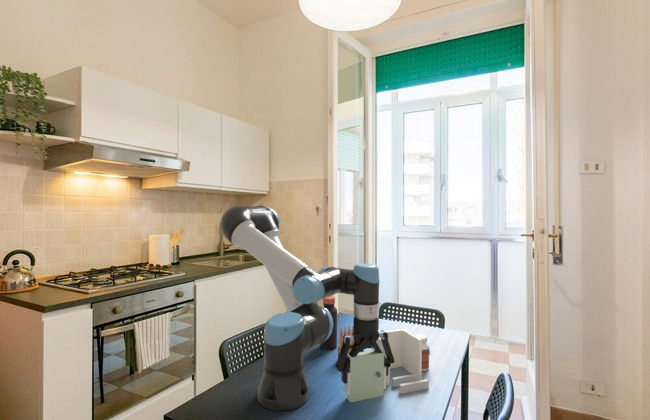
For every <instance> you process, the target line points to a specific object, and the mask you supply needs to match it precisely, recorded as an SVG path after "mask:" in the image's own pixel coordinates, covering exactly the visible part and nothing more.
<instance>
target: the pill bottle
mask: <svg viewBox="0 0 650 420" xmlns="http://www.w3.org/2000/svg"><path fill="white" fill-rule="evenodd" d="M414 335H415V336H416V337H418V338H420V339H421V340H422V372H425V371H428V370H429V369H430V352H429V350H430V345H429V343H428V337H427V335H424V334H420V333H419V334H418V333H417V334H414Z"/></svg>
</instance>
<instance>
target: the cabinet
mask: <svg viewBox="0 0 650 420" xmlns="http://www.w3.org/2000/svg"><path fill="white" fill-rule="evenodd" d="M384 331H385V332H386V333H388V342H389V345H390V348H391V351H392V354H393V357H394V363H391V366H390V367H388V376H386V386H390V384H391V386H392V387H393V388H396V387H399V388H398V393H399V394H401V395H404V394H409V393H413V392H419V391H425V390H428V389H430V388H429V387H430V383H429V382H430V381H429V380H428V379H427V378H426V379H422V378H423V377H422V375H423V374H422V372H423V371H422V340H421V339H420V338H418V337H416V336H415V335H416V334H413V333H411V332H409V331H408V330H406V329H404V328H403V329H402V328H401V329H394V330H384ZM376 342H377V344H378V346H379V348H380V349H381V351H383V352H384V356H385V357H386V354H385V351H384V348H383V345H382V341H381V338H380V337H379V338H378V340H377V341H376ZM370 349H371V350H370V351H373V350H374V349H373V347H372V348H370ZM386 358H387V357H386ZM397 368H404V369H405V370H406V371H407V372H409V373H410V374H406V375H401V376H395V377H391V369H397ZM390 382H391V383H390Z"/></svg>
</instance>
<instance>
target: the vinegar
mask: <svg viewBox="0 0 650 420" xmlns="http://www.w3.org/2000/svg"><path fill="white" fill-rule="evenodd" d="M335 304H336V296H334V295H332V296H329V297H326V298H324V299H322V305H323V307H324V308H326V309H327V310H328V311H329V312H330V314H331V316H332V319H333V330H332V333H331V335H330V337H329V338H328V339H327V340H325V341H324V342H323V343H322V344H320V345H319V347H320V348H321V349H323V350H327V351H328V350H334V349H336V348H337V346H338V308H336V306H335Z"/></svg>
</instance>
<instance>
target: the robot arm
mask: <svg viewBox="0 0 650 420" xmlns="http://www.w3.org/2000/svg"><path fill="white" fill-rule="evenodd" d="M280 223H281V221H280V217H279V214H278V213H277V212H276V211H275V210H274V209H273V208H271V207H270V206H264V205H255V206H254V205H234V206H232V207H230V208H228V209H227V210H226V211H224V213H223V214H222V216H221V219H220V232H221V233H222V234H223V236H224V238H225V239H226V240H227V241H228V242H230V243H231V244H232V245H233V246H234V247H236V248H242V249H244V251H245V252H247V253H249V255H251V256H252V257H253V258H254V259H256V260H257V261H258V262H260V263H261V264H263V265H264V267H265V268H266V270H267V272H268V274H269V276H270V278H271V280H272V282H273V285H274V286H275V288H276V291H277V293H278V294H279V296H280V299H281V301H282V302H283V305H284V306H285V309H286V311H285V312H283V313H277V314H275V315H272V316H271V317H270V318H268V319H267V320H266V321H265V325H264V332H263V362H264V363H263V373H262V377H261V379H260V382H259V386H258V388H257V402H258V403H259V404H260V405H261V406H262V407H263V408H266V409H268V410H272V411H290V410H291V411H292V410H294V409H297V408H299V407H302V406H303V405H305V403H307V402H308V400H309V396H310V389H309V388H310V386H309V383H308V381H307V377H306V374H305V371H304V354H306V353H307V352H309V351H311V350H312V349H314V348H316V347H317V346H320V344H322V343H323V342H324V341H325V340H327V339H328V338H329V337H330V335H331V333H332V330H333V319H332V316H331V314H330V312H329V311H328V310H327V309H326V308H324V307H323V306H324V305H323V306H322V305H319V302H320V301H322V300H323V299H324V298H326V297H329V296H334V295H336V294H343V295H344V294H346V295H351V296H353V297H352V298H353V314H352V315H354V316H353V319H352V320H353V324H352V325H353V326H352V327H353V329H354V332H353V335H352V336H348V334H347V335H344V334H343V345H342V348H341V351H340V354H339V357H338V356H337V360H336V363H335V368H336V369H337V371H338V372H339V373H340V372H341V382H342V383H343V386H344V388H343V391H344V392H345V394H346V396H347V395H348V396H350V376H351V373H350V372H349V369H350V359H349V358H348V357H347V354H348V351H349V348H350V344H351V343H352V340H354V344H353V345H352V349H351V351H350V352H349V355H350V356H351V357H356V356H357V355H358V353H359V352H360V351H361V350H362V349H364V350H367V349H371V348H372V347H373V349H374V350H375V351H376V352H377V353H382V351H381V349H380V348H379V346H378V344H377V342H376V341H377V340H378V338H379V337H380V338H381V341H382V345H383V348H384V351H385V354H386V357H387V358H386V357H385V356H384V390H386V389H387V385H386V376H388V367H390V366H391V363H394V357H393V354H392V351H391V348H390V345H389V342H388V333H386V332H385V331H386V330H380V331H379V328H380V327H379V326H380V325H379V324H380V323H379V322H380V321H379V320H380V319H379V315H380V312H379V311H380V309H379V307H380V304H379V303H380V299H379V298H380V297H379V295H380V282H381V281H380V272H379V271H380V270H379V267H378V266H377V265H376V264H374V263H373V264H372V263H355V265H353V269H349V268H342V267H341V268H340V267H335V266H323V267H322V268H321V269H320V270H319V271H318V272H317V271H315V270H314V269H312V267H310V266H308V265H307V264H305V263H304V262H302V260H300V259H299V258H297V257H296V256H294V255H293V254H292V253H290V251H288V250H287V249H285V248H284V246H283V244H282V242H281V240H280V239H279V238H280V234H281V231H280V226H281V225H280ZM357 346H358V347H357ZM346 357H347V358H346Z"/></svg>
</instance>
